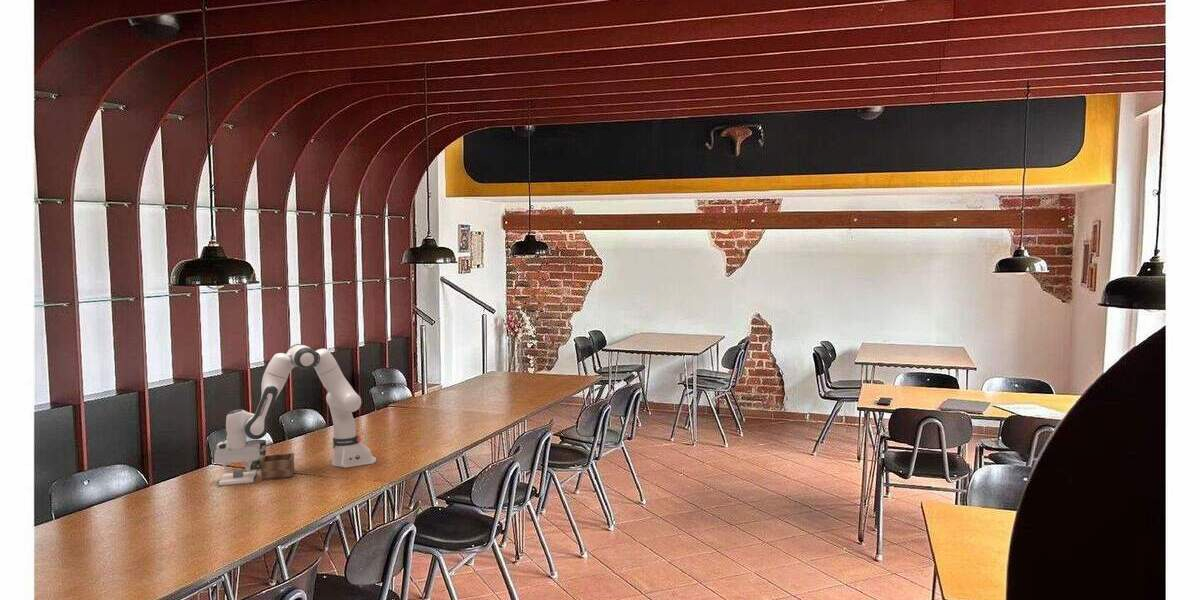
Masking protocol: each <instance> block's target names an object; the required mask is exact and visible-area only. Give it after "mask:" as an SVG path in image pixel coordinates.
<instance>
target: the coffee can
mask: <svg viewBox="0 0 1200 600" xmlns="http://www.w3.org/2000/svg"><path fill="white" fill-rule="evenodd" d="M254 441H256V442H258V443H259V444H260V449H259V452H260V458H259V460H256V461H252V464H251V466H250V470H247V466H249V464H250V463H249V461H245V472H251V471H257V472H258V471H261V461H262V459H263V456H265V455H267V440H266V439H251V440H247V442H254ZM256 444H257V443H256Z"/></svg>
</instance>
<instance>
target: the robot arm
mask: <svg viewBox="0 0 1200 600" xmlns="http://www.w3.org/2000/svg"><path fill="white" fill-rule="evenodd" d="M297 367H298V368H300V369H310V368H313V369H314V371H315V372H316V375H317V376H318V378H319V380H320V382H321V383H322V384H321V385H322V386H323V388H324V389H326V390H327V394H326V395H325V397H326V398H325V400H326V404H327V405H328V408H329V411H330V415H331V420H332V426H333V437H332V448H333V455H332V461H331V466H333V467H340V468H352V467H353V468H354V467H361V466H366V465H373V464H375V463H376V462H377V457H375V456H373V455H372V450H371V448H369V447H368V446H366V445H365V444H363V443H362V442H361V441H362V440H361V437H360V436H359V435H356V434H357V433H356V432H357V431H356V420H355V418H354V416H353V413H354V412H356V411H358V410H359V409H360V408H361V406H362V398H361V396H360V395H359V394H358V393H357V392H356V391H355V390H354V388H353V386H352V385H351V384H350V383H349V381H348V380H347V378H346V377H345V375H344V374H343V372H342V370H341V367H340V365H339V364H338V362H337V360H336V359H335V357H334V356H333V354H332V353H331V352H330V350H329V349H327V348H319V349H316V350H314V349H313V348H311V347H309V346H307V345H304V344H301V343H295V344H293V345H291V346H290V347H289V348H288V349H287V350H285V351H284V352H279V353H275V354H274V355H273V356H272V358H271V359H270V360H269V362H268V364H267V366H266V368H265V370H264V373H263V375H262V380H261V386H260V387H261V394H260V395H261V397H260V400H259V403H258V405H257V408H256V411H255V413H252V412H249V411H247V410H244V409H243V408H240V409H234V410H231V411H230V412H228V413H227V415H226V419H225V430H226V439H225V440H223V441H219V442H218V443H217V444H216V450H215V453H214V458H213V459H214V460H213V461H214V464H216V465H220V464H222V467H223V468H224V469H225V471H224V472H225V473H229V472H230V467H228V466H227V464H230V463H231V464H232V463H243V462H245V461H249V463H250V464H249V466H247V470H250V466H251V464H252V461H256V460H259V458H260V452H259V449H260V444H259V443H258V442H256V441H254V442H247V441H248V440H247V437H248V438H250V439H251V440H261V439H262V438H263V437H265V436H266V434H267V433H268V431H269V424H268V423H269V422H268V420H269V417H270V415H271V411H272V409H273V407H274V404H275V401H276V400H277V398H278V396H279V395H280V393H281V391H282V390H283V388H284V387H285V385H286V383H287V381H288V378H289V375H290V373H291V371H292V370H293V369H295V368H297ZM256 443H257V444H256Z"/></svg>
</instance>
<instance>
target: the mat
mask: <svg viewBox="0 0 1200 600" xmlns="http://www.w3.org/2000/svg"><path fill="white" fill-rule="evenodd" d="M258 474H259V473H257V475H256V477H255V479H254V481H253V482H248V483H238V484H227V485H219V483H218V484H217V487H225V486H226V487H227V486H236V485H246V484H247V485H248V484H254V483H255V481H256V479H257V478H258Z"/></svg>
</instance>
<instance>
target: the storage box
mask: <svg viewBox="0 0 1200 600" xmlns="http://www.w3.org/2000/svg"><path fill="white" fill-rule="evenodd" d="M294 455H295V453H294V452H293V453H291V452H290V453H279V454H266V455H265V456H263V459H262V461H261V470H260V474H261V475H260V476H261V477H260V478H261V481H271V480H283V479H293V476H294V472H295V456H294Z"/></svg>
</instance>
